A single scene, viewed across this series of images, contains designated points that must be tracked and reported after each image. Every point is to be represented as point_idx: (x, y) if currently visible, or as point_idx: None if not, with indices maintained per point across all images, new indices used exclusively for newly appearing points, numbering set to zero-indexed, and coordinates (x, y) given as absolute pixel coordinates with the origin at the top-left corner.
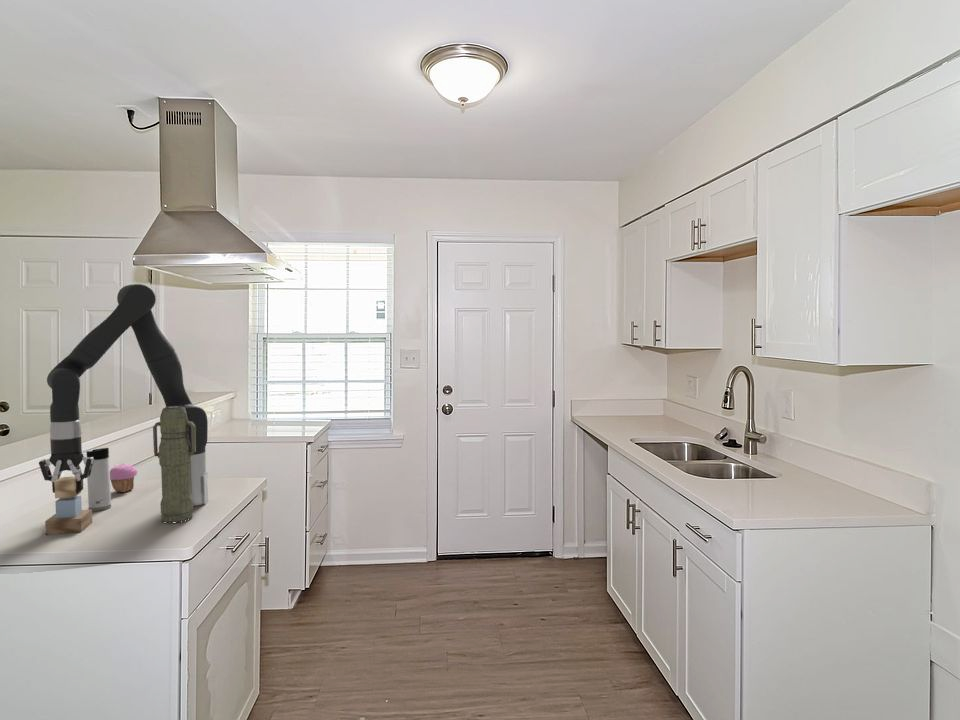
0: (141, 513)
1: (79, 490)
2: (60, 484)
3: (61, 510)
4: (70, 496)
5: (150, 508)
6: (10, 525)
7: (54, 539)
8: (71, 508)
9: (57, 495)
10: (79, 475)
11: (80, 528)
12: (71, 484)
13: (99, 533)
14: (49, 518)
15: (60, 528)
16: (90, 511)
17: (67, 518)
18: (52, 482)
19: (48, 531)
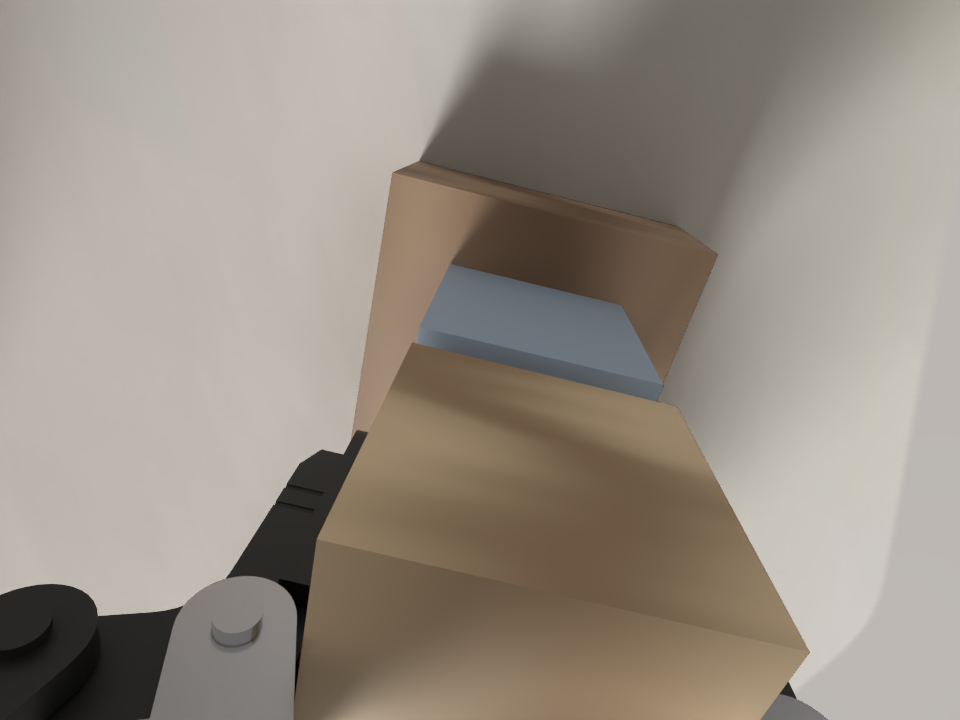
0: (92, 444)
1: (338, 459)
2: (641, 541)
3: (579, 319)
4: (468, 363)
5: (71, 524)
6: (872, 580)
7: (614, 36)
8: (477, 302)
9: (653, 420)
10: (153, 707)
11: (419, 167)
12: (409, 480)
13: (261, 30)
14: (677, 337)
15: (575, 205)
16: (356, 415)
17: (519, 246)
18: (800, 716)
19: (665, 227)
